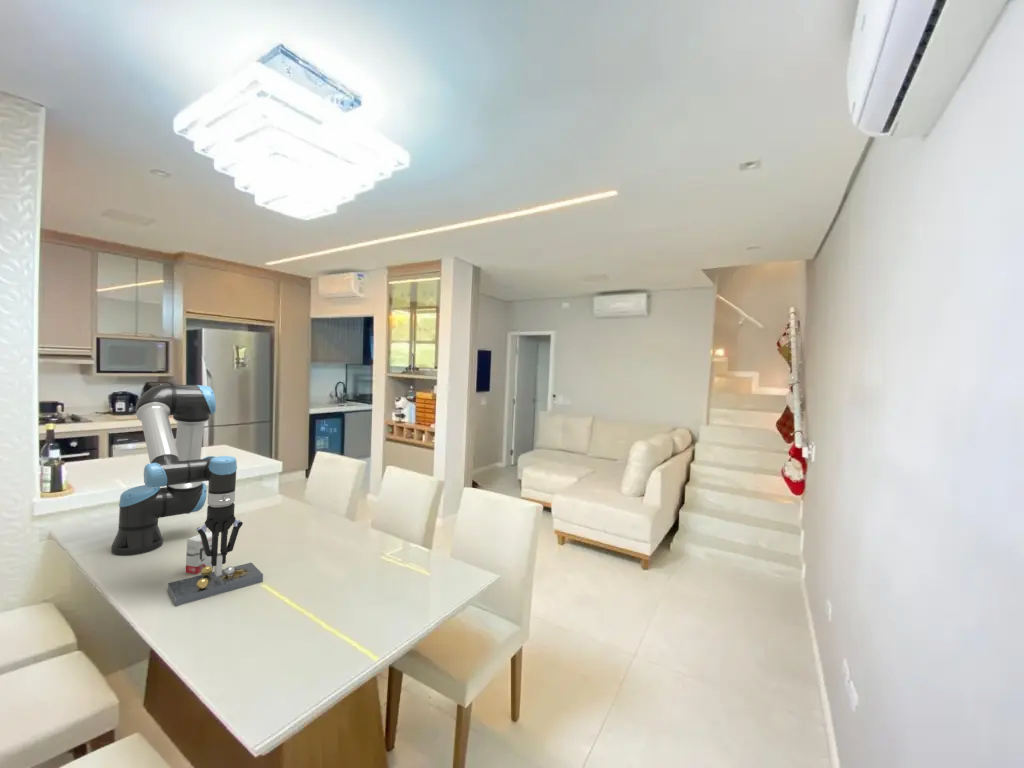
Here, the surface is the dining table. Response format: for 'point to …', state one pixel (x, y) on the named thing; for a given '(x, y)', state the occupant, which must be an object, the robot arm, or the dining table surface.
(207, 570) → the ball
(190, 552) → the ink box
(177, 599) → the plate
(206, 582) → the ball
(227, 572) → the steel ball
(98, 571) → the dining table surface
